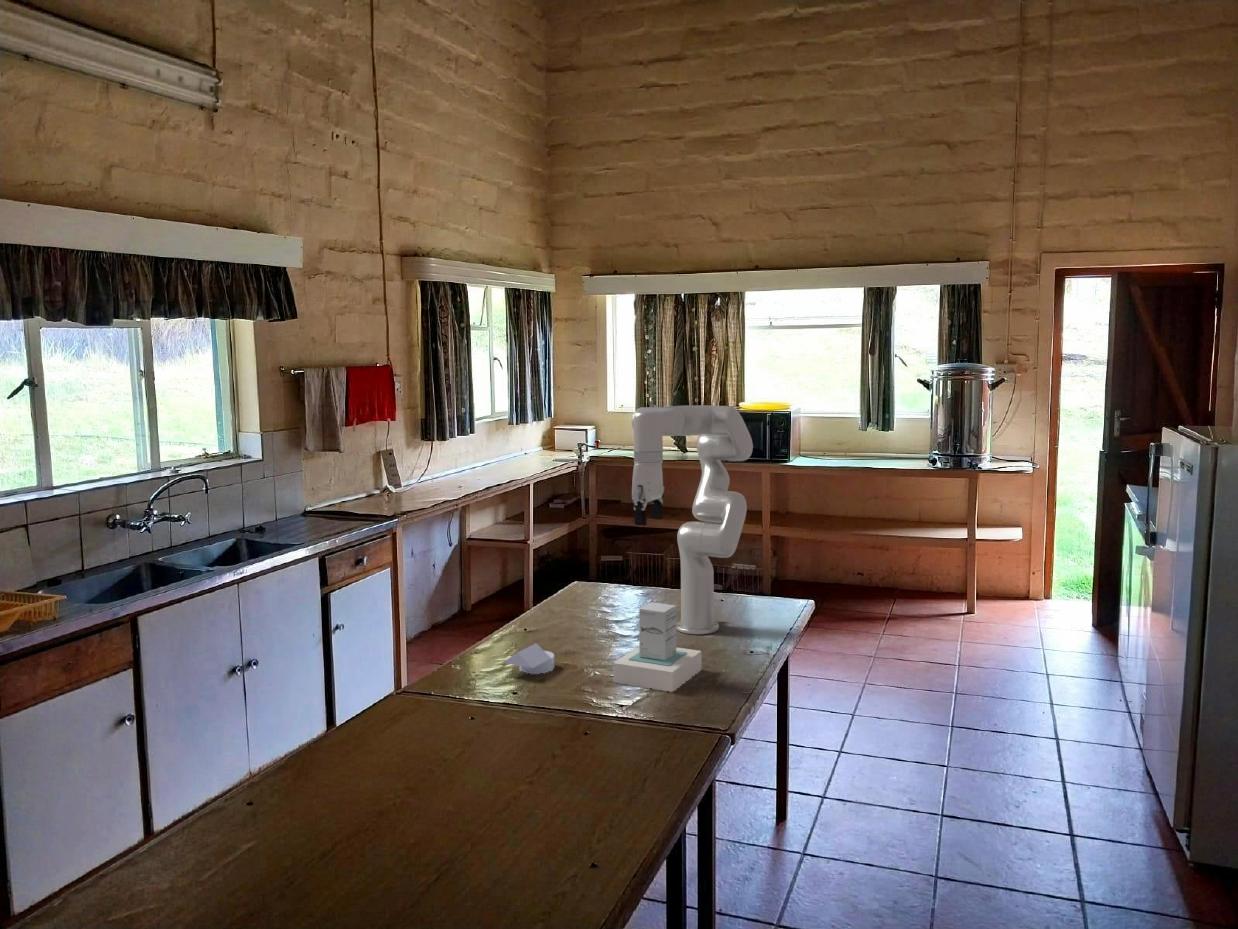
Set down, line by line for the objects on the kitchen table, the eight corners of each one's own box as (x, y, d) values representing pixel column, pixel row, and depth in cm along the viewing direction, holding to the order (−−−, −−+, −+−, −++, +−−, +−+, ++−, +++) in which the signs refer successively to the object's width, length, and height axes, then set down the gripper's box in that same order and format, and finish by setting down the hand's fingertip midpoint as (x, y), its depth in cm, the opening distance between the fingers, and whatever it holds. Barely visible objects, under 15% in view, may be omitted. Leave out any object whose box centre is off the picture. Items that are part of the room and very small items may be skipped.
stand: (645, 661, 258) (644, 641, 258) (701, 669, 251) (701, 649, 250) (613, 682, 242) (613, 661, 242) (672, 692, 235) (672, 671, 234)
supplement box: (638, 657, 245) (637, 608, 243) (651, 649, 251) (651, 601, 250) (665, 661, 241) (664, 611, 240) (677, 653, 248) (677, 604, 246)
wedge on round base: (532, 681, 244) (561, 666, 255) (532, 655, 243) (560, 640, 255) (503, 675, 249) (532, 660, 260) (502, 649, 248) (531, 636, 259)
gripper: (649, 453, 266) (650, 515, 268) (620, 460, 251) (621, 526, 253) (675, 454, 262) (675, 517, 264) (647, 461, 247) (647, 528, 249)
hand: (648, 522), depth 259 cm, fingers open, 9 cm apart
